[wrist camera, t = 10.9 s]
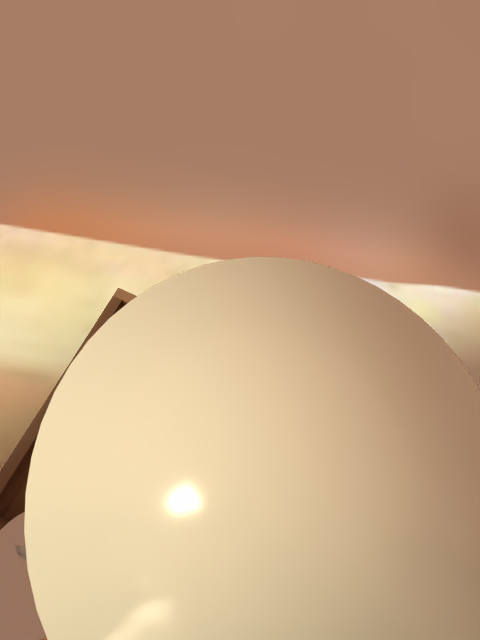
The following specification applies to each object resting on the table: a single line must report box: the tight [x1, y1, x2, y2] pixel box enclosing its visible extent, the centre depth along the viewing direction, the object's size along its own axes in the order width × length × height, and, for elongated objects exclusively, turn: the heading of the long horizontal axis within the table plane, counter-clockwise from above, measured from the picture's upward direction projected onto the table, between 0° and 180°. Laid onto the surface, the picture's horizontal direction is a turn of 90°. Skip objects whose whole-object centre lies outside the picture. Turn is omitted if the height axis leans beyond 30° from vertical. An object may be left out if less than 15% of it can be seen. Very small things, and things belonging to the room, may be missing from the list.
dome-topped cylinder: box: [24, 257, 480, 640], centre depth 10 cm, size 6×6×11 cm
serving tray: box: [0, 288, 137, 530], centre depth 21 cm, size 20×14×3 cm
